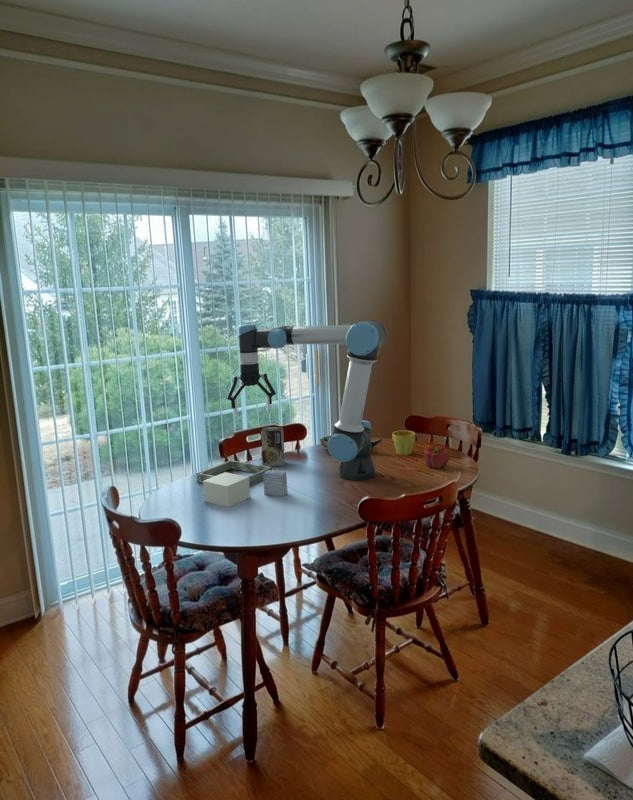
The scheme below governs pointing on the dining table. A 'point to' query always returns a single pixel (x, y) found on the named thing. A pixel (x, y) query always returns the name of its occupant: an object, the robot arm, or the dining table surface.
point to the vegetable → (436, 456)
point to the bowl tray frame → (236, 465)
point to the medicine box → (275, 483)
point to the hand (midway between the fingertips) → (252, 414)
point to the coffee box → (273, 446)
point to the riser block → (226, 489)
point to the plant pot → (403, 441)
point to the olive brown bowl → (325, 439)
